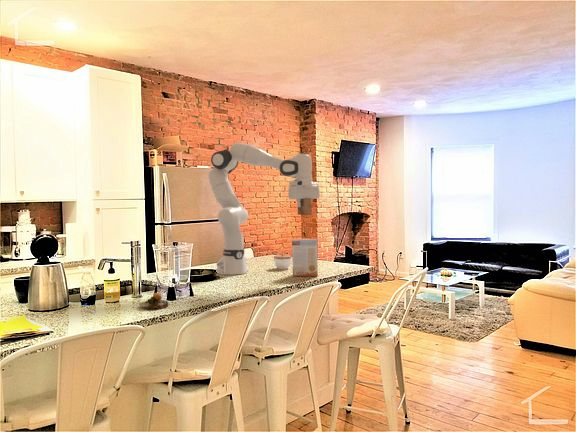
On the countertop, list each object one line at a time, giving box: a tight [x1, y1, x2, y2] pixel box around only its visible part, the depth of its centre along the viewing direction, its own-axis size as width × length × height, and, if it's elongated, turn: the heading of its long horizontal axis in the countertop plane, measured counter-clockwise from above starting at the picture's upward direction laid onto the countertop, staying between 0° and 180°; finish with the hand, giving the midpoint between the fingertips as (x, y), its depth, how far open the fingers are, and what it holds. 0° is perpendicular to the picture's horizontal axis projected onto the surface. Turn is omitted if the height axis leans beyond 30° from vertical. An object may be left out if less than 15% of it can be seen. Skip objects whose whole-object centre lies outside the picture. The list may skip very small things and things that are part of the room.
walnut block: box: [297, 199, 312, 216], centre depth 263 cm, size 6×5×9 cm
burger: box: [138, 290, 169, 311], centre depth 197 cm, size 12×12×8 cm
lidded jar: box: [273, 252, 292, 270], centre depth 290 cm, size 11×11×9 cm
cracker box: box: [291, 238, 319, 277], centre depth 265 cm, size 14×6×21 cm, turn 84°
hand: (304, 207), depth 263 cm, fingers closed on walnut block, 5 cm apart
